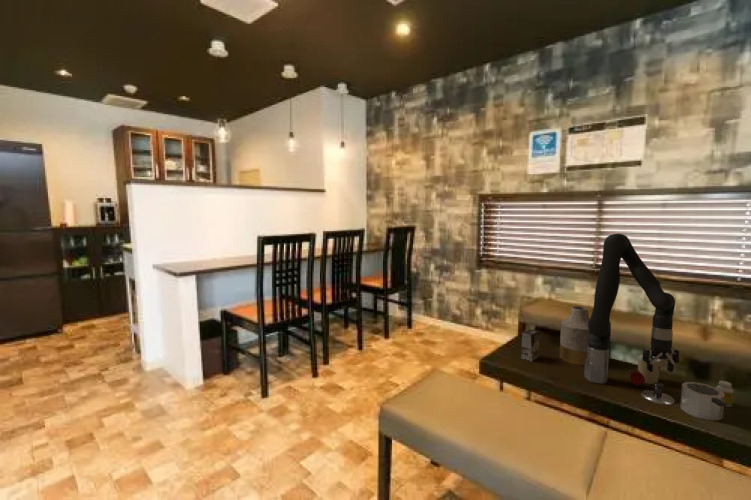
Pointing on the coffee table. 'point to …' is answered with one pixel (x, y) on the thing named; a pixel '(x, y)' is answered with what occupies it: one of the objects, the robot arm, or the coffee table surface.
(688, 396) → the pot
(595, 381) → the robot arm
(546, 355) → the coffee table surface
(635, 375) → the onion
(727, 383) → the supplement bottle
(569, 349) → the vase
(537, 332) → the coffee box
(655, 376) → the coffee cup
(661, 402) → the lid
